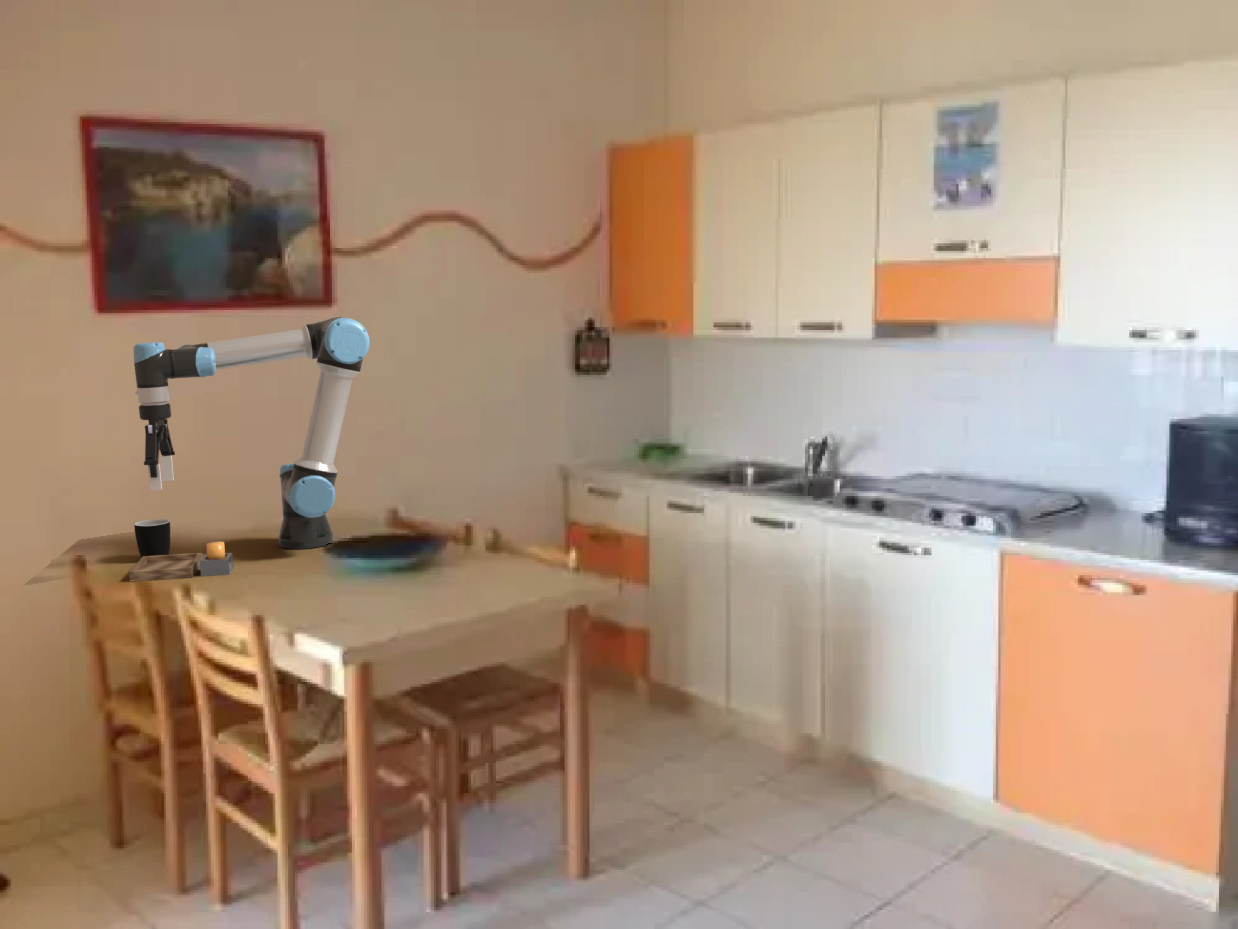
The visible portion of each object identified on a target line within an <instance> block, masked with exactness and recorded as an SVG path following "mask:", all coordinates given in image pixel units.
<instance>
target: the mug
mask: <svg viewBox="0 0 1238 929" xmlns="http://www.w3.org/2000/svg"><path fill="white" fill-rule="evenodd" d="M134 535H135V540H136V545H137V549H138V552H139V553H138V554H139V556H140V559H141V558H142V557H143V556H158V555H170V549H171V522H170V520H169V519H165V518H152V519H151V518H150V519H146V520H141V521H137V522H135V523H134Z"/></svg>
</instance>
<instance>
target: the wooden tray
mask: <svg viewBox="0 0 1238 929" xmlns="http://www.w3.org/2000/svg"><path fill="white" fill-rule="evenodd" d="M203 556H204V554H203V552H196V553H181V554H180V553H179V554H178V553H177V554H176V553H175V554H169V555H158V556H143V557H142V558H141V557H140V559H139V560H138V562H137V563H135V564H134V566H133V567H132V568H131V569H130V570H129V571H128V577H129V581H130V580H135V581H134V582H143V581H144V582H145V581H159V580H160V581H161V580H174V579H175V580H177V579H191V578H193V577H194V576H195V574H196V573H197V572H198V570H199V569H200V560H201V558H202V557H203ZM196 571H197V572H196Z"/></svg>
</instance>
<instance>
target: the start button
mask: <svg viewBox="0 0 1238 929" xmlns="http://www.w3.org/2000/svg"><path fill="white" fill-rule="evenodd" d="M205 547H206V548H205V549H206V554H207V559H223V558H225V553H226V549H225V547H226V546H225V542H224V541H211V542H207V543H206V544H205Z"/></svg>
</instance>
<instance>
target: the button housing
mask: <svg viewBox="0 0 1238 929" xmlns="http://www.w3.org/2000/svg"><path fill="white" fill-rule="evenodd" d="M233 556H234V555H233V552H225V558H223V559H207V553H206V554H203V557H202V558H201V560H200V567H199V569H200V577H209V576H225V575H227V576H228V575H231V573H232V572H233V570H234V557H233Z"/></svg>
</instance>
